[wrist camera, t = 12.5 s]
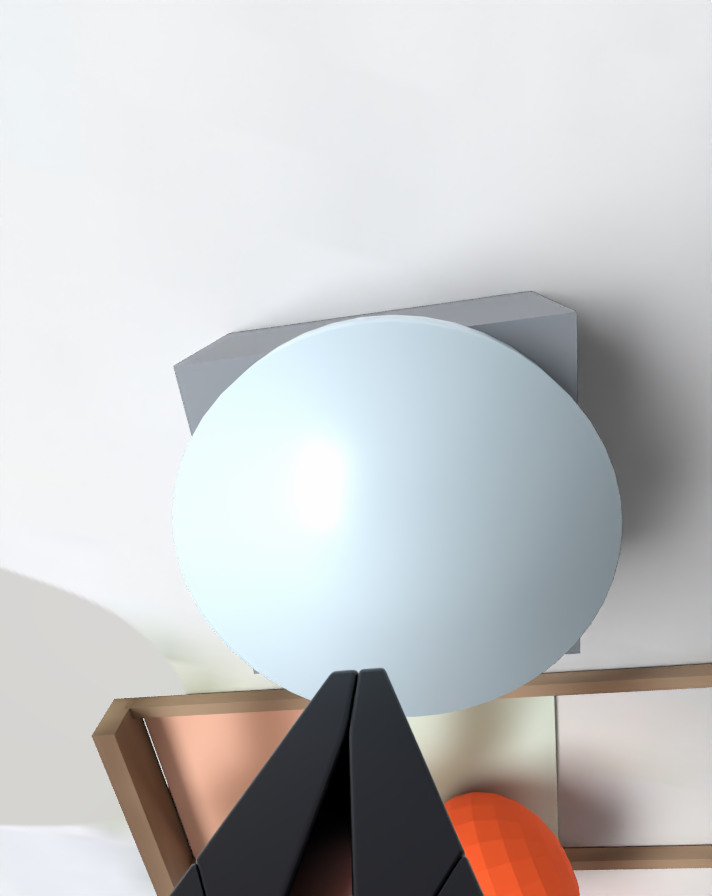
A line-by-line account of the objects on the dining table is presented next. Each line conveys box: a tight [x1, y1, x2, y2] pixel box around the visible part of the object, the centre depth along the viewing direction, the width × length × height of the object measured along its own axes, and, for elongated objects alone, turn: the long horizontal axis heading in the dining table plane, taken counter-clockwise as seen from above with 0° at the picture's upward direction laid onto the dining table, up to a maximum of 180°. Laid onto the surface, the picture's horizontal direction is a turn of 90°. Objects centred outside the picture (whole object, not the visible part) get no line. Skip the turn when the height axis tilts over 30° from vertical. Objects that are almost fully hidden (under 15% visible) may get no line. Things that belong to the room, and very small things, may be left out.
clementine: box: [444, 792, 580, 896], centre depth 23 cm, size 8×7×7 cm
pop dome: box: [172, 315, 622, 717], centre depth 17 cm, size 11×11×5 cm
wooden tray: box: [92, 664, 712, 896], centre depth 25 cm, size 29×11×2 cm, turn 98°
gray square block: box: [173, 291, 580, 674], centre depth 18 cm, size 10×10×5 cm
